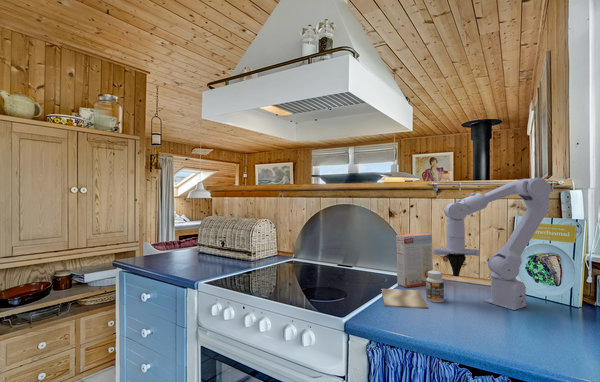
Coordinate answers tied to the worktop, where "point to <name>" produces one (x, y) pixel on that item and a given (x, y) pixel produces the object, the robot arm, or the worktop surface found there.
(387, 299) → the beige flat rectangular panel
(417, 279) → the cracker box
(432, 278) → the pill bottle
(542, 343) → the worktop surface
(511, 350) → the worktop surface
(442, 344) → the worktop surface
